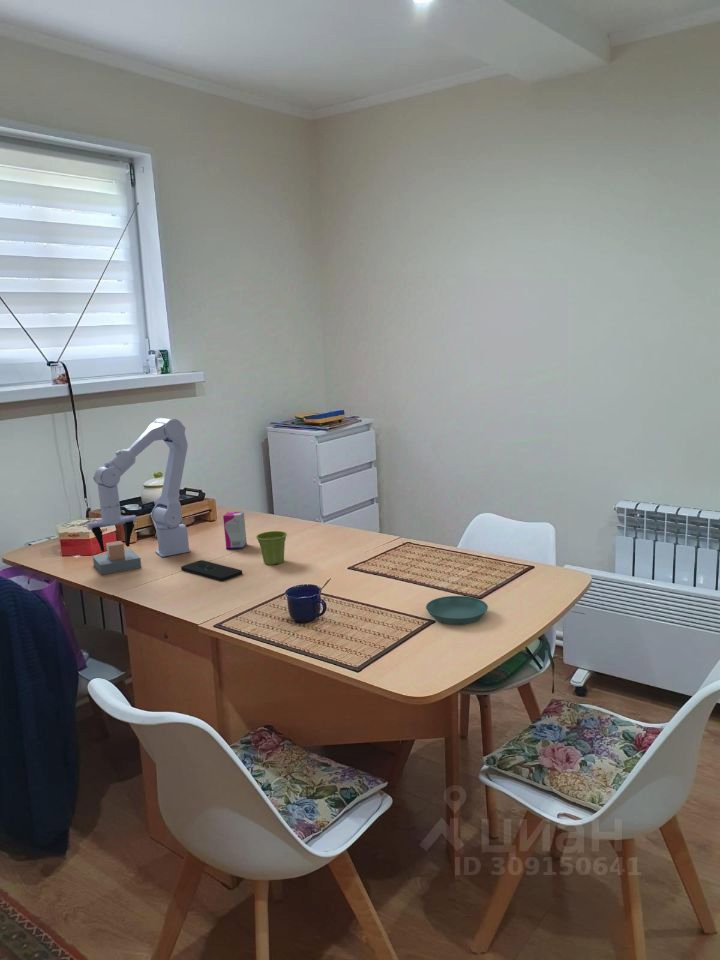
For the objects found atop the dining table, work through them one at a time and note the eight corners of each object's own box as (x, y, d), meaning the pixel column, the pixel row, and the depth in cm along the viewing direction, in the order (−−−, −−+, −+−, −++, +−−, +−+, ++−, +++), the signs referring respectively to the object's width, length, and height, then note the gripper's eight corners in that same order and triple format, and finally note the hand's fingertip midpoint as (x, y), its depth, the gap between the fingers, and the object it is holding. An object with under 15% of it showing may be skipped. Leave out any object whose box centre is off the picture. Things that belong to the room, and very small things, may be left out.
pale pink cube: (122, 554, 239) (120, 540, 238) (125, 557, 235) (123, 543, 234) (107, 556, 237) (105, 543, 236) (110, 560, 233) (108, 546, 232)
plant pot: (252, 565, 230) (250, 538, 228) (267, 556, 238) (265, 530, 237) (279, 567, 226) (277, 540, 225) (294, 558, 235) (292, 531, 233)
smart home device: (201, 559, 235) (243, 569, 222) (202, 564, 235) (244, 575, 222) (179, 566, 229) (221, 577, 216) (180, 571, 229) (221, 583, 216)
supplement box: (247, 544, 254) (244, 510, 252) (242, 549, 248) (240, 515, 246) (230, 544, 255) (227, 511, 252) (225, 549, 249) (222, 515, 247)
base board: (132, 558, 245) (131, 549, 244) (141, 567, 234) (140, 557, 234) (93, 565, 239) (92, 556, 238) (101, 574, 229) (100, 565, 228)
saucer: (445, 633, 172) (445, 622, 172) (415, 612, 186) (415, 602, 185) (500, 620, 178) (500, 610, 178) (467, 601, 191) (466, 591, 191)
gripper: (88, 511, 226) (93, 555, 229) (136, 504, 233) (141, 546, 236) (83, 507, 232) (89, 550, 235) (131, 500, 239) (136, 541, 242)
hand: (115, 548), depth 236 cm, fingers open, 7 cm apart
